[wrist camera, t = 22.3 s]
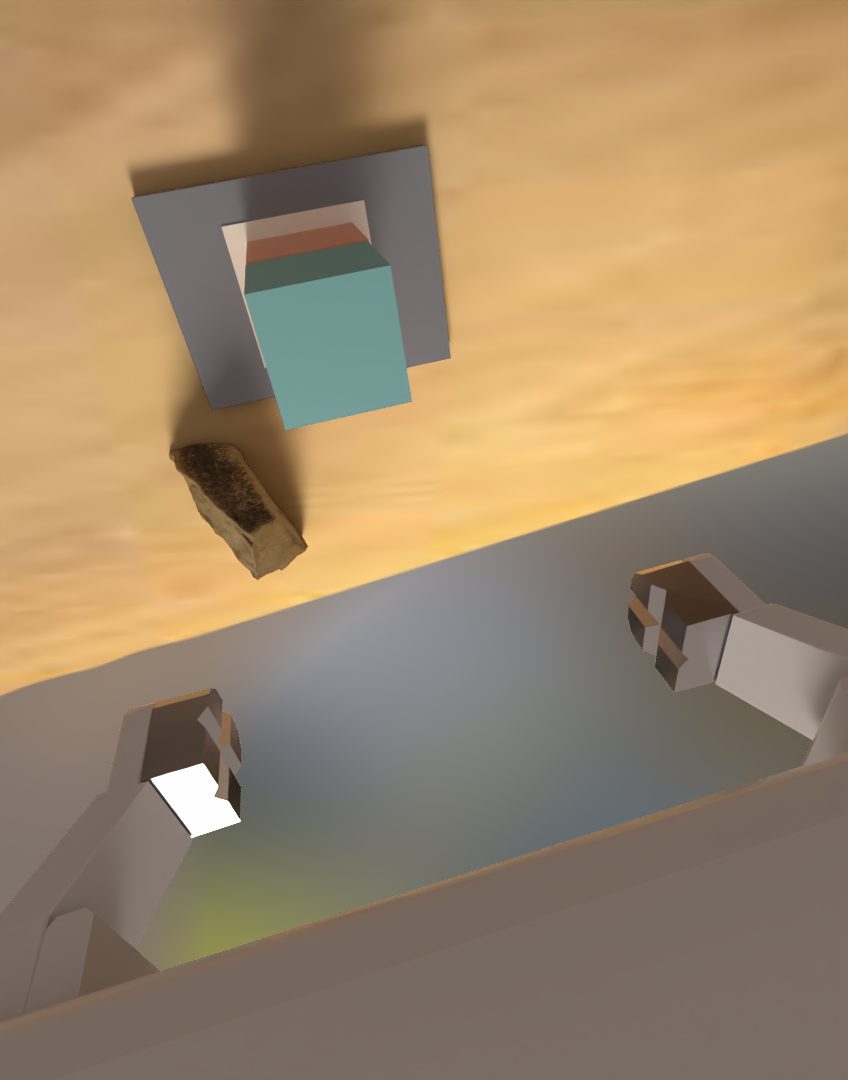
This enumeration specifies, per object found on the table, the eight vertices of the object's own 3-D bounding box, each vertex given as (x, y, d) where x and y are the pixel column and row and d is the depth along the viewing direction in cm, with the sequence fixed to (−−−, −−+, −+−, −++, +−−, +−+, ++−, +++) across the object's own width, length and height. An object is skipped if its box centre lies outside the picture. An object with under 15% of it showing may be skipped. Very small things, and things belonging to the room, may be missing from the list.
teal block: (367, 241, 29) (390, 265, 24) (388, 360, 32) (411, 401, 28) (245, 264, 28) (244, 294, 23) (280, 383, 32) (285, 430, 27)
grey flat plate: (423, 144, 33) (428, 145, 32) (446, 353, 40) (450, 358, 39) (134, 196, 31) (131, 198, 30) (212, 404, 39) (211, 411, 38)
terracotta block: (351, 222, 33) (368, 239, 29) (371, 328, 37) (388, 359, 32) (246, 241, 33) (245, 262, 28) (276, 347, 36) (280, 381, 32)
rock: (344, 562, 46) (336, 456, 39) (281, 643, 40) (259, 535, 33) (229, 521, 49) (203, 415, 42) (155, 590, 43) (110, 481, 36)
